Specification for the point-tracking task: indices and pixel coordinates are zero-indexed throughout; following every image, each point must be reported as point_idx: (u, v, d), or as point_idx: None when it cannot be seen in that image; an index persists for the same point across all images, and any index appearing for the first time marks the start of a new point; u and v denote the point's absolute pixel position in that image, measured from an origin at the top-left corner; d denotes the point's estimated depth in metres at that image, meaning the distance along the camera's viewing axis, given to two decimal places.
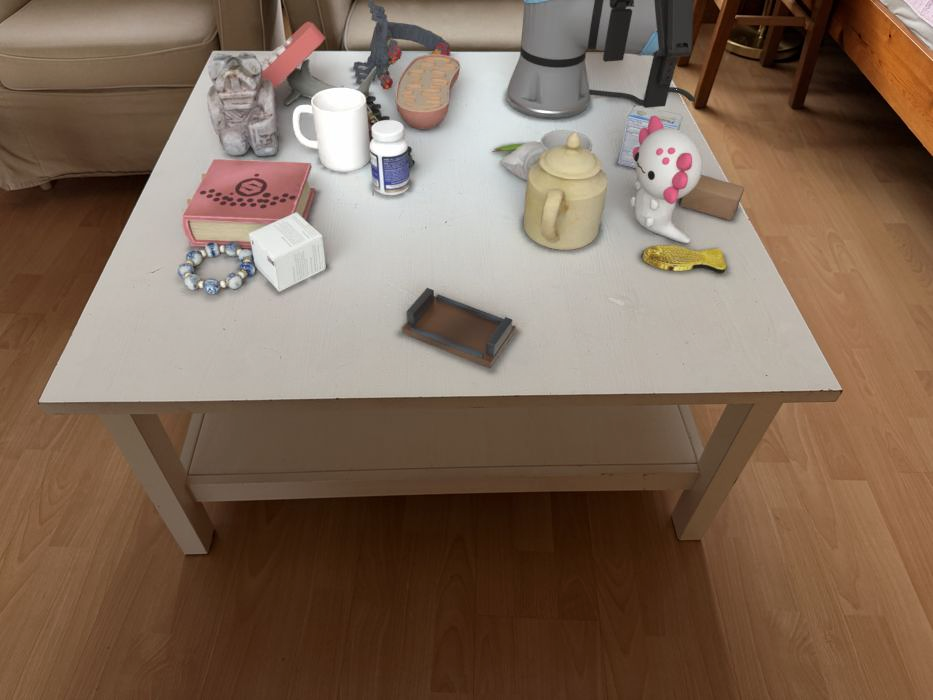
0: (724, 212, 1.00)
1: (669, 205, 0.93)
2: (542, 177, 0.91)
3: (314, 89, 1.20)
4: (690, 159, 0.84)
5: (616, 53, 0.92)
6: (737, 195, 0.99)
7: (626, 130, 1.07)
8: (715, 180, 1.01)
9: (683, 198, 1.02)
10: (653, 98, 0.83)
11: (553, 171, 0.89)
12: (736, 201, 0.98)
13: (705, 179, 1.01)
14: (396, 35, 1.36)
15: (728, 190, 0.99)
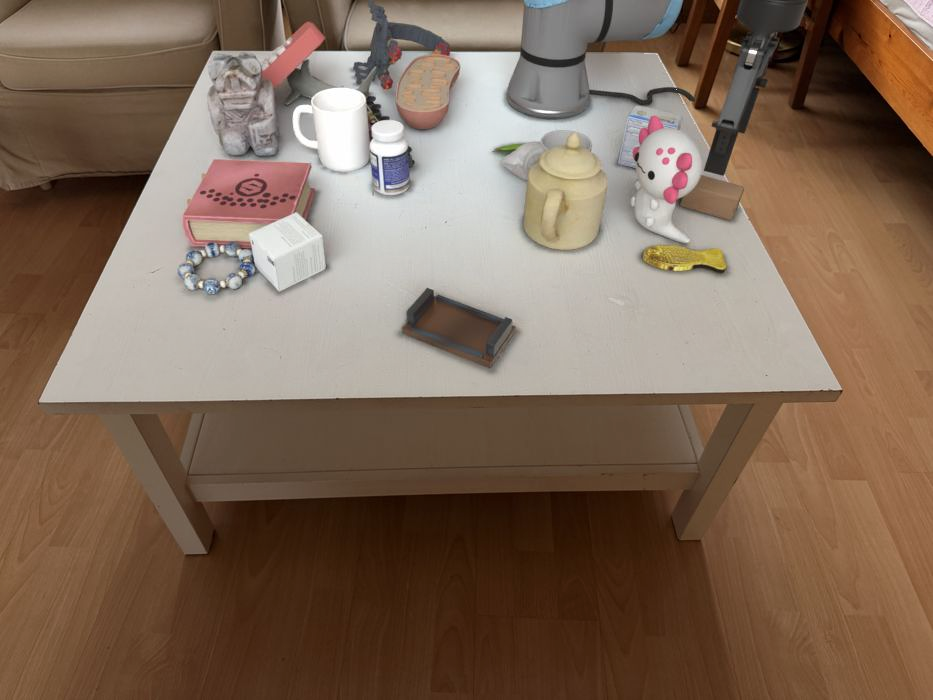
0: (724, 212, 1.00)
1: (669, 205, 0.93)
2: (542, 177, 0.91)
3: (314, 89, 1.20)
4: (690, 159, 0.84)
5: (738, 125, 0.99)
6: (737, 195, 0.99)
7: (626, 130, 1.07)
8: (715, 180, 1.01)
9: (683, 198, 1.02)
10: (712, 164, 0.91)
11: (553, 171, 0.89)
12: (736, 201, 0.98)
13: (705, 179, 1.01)
14: (396, 35, 1.36)
15: (728, 190, 0.99)
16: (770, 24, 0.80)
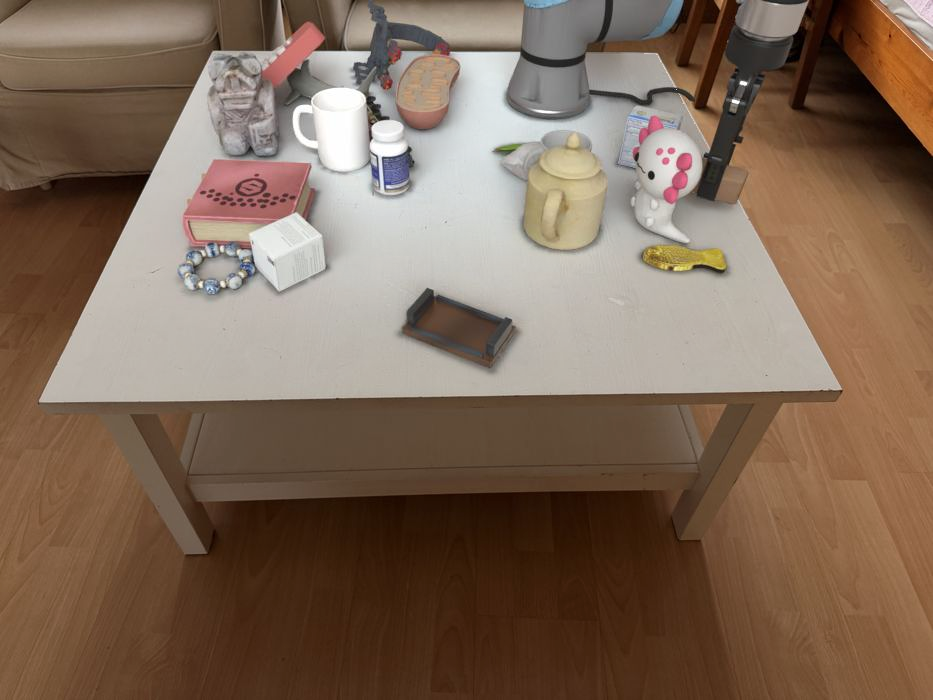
0: (728, 196, 0.99)
1: (669, 205, 0.93)
2: (542, 177, 0.91)
3: (314, 89, 1.20)
4: (690, 159, 0.84)
5: None
6: (741, 178, 0.97)
7: (626, 130, 1.07)
8: None
9: None
10: (703, 191, 0.99)
11: (553, 171, 0.89)
12: (740, 185, 0.97)
13: None
14: (396, 35, 1.36)
15: (732, 173, 0.98)
16: (756, 64, 0.84)
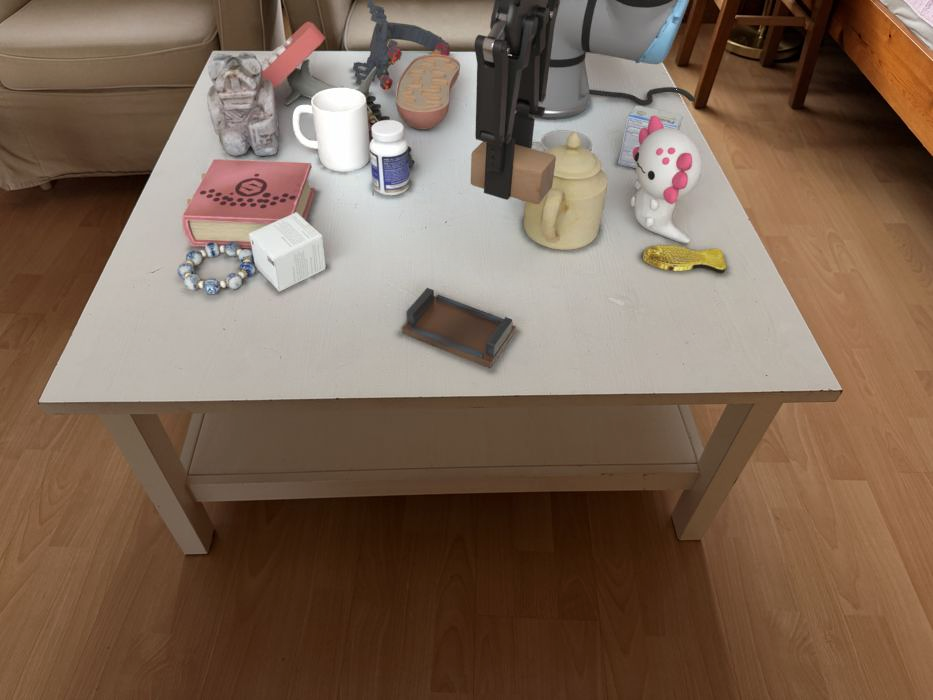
0: (526, 192, 0.69)
1: (669, 205, 0.93)
2: None
3: (314, 89, 1.20)
4: (690, 159, 0.84)
5: None
6: (541, 166, 0.67)
7: (626, 130, 1.07)
8: (516, 146, 0.70)
9: (472, 173, 0.70)
10: (491, 185, 0.69)
11: None
12: (538, 176, 0.67)
13: None
14: (396, 35, 1.36)
15: (530, 159, 0.68)
16: None
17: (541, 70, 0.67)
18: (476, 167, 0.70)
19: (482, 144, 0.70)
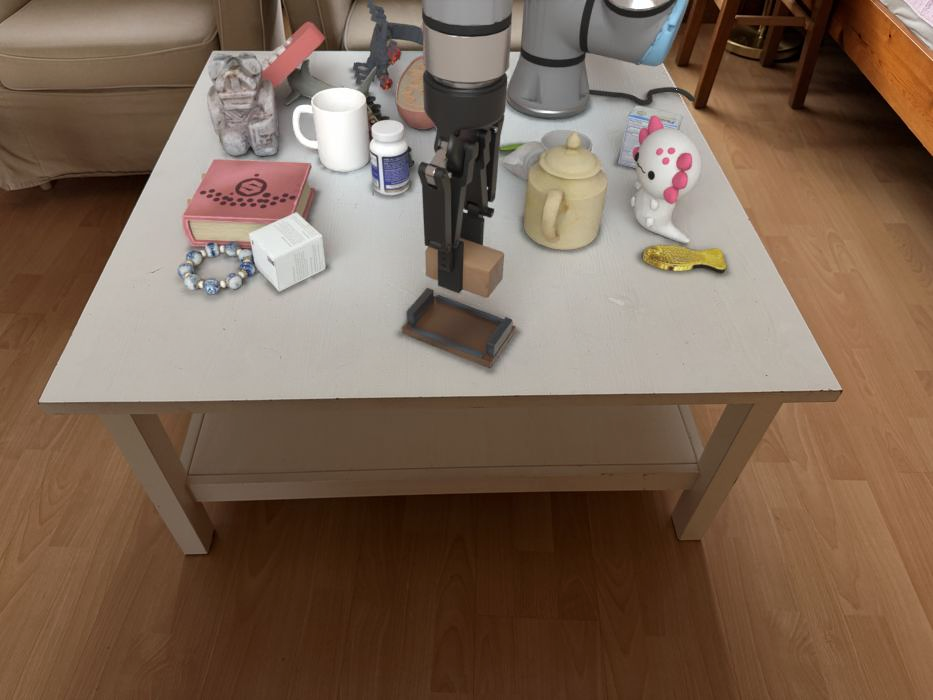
0: (476, 287, 0.73)
1: (669, 205, 0.93)
2: (542, 177, 0.91)
3: (314, 89, 1.20)
4: (690, 159, 0.84)
5: None
6: (489, 265, 0.72)
7: (626, 130, 1.07)
8: (467, 243, 0.74)
9: (426, 267, 0.75)
10: (444, 280, 0.74)
11: (553, 171, 0.89)
12: (486, 275, 0.72)
13: None
14: (395, 36, 1.36)
15: (479, 257, 0.73)
16: (452, 120, 0.59)
17: (489, 176, 0.71)
18: (430, 262, 0.74)
19: None
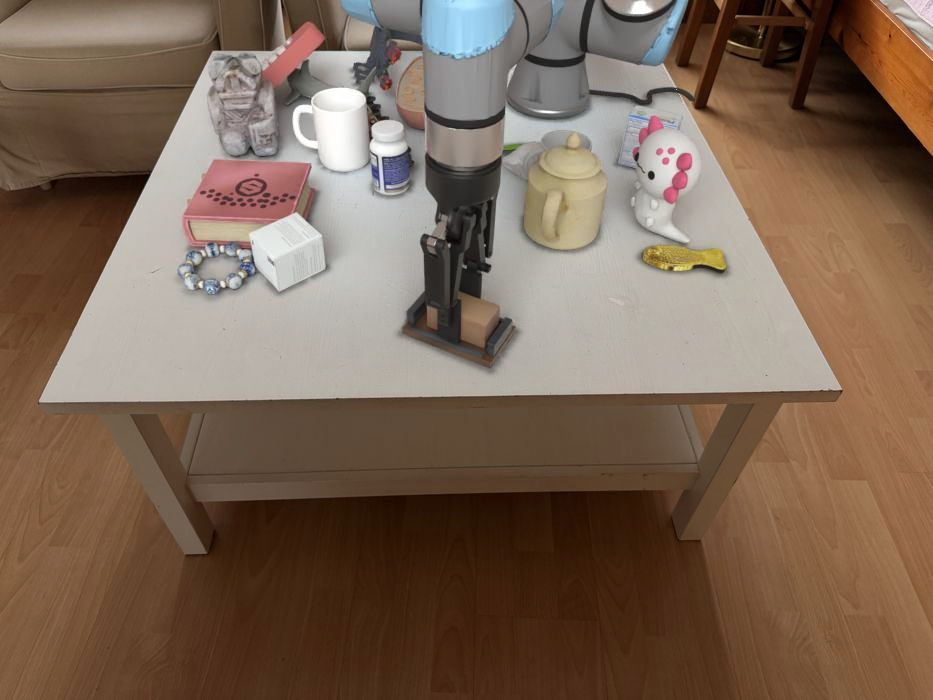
0: (474, 339, 0.79)
1: (669, 205, 0.93)
2: (542, 177, 0.91)
3: (314, 89, 1.20)
4: (690, 159, 0.84)
5: None
6: (485, 319, 0.77)
7: (626, 130, 1.07)
8: (465, 297, 0.80)
9: (428, 318, 0.81)
10: (443, 332, 0.80)
11: (553, 171, 0.89)
12: (483, 328, 0.77)
13: None
14: (395, 36, 1.36)
15: (477, 311, 0.78)
16: (452, 198, 0.65)
17: (486, 236, 0.77)
18: (431, 315, 0.80)
19: None
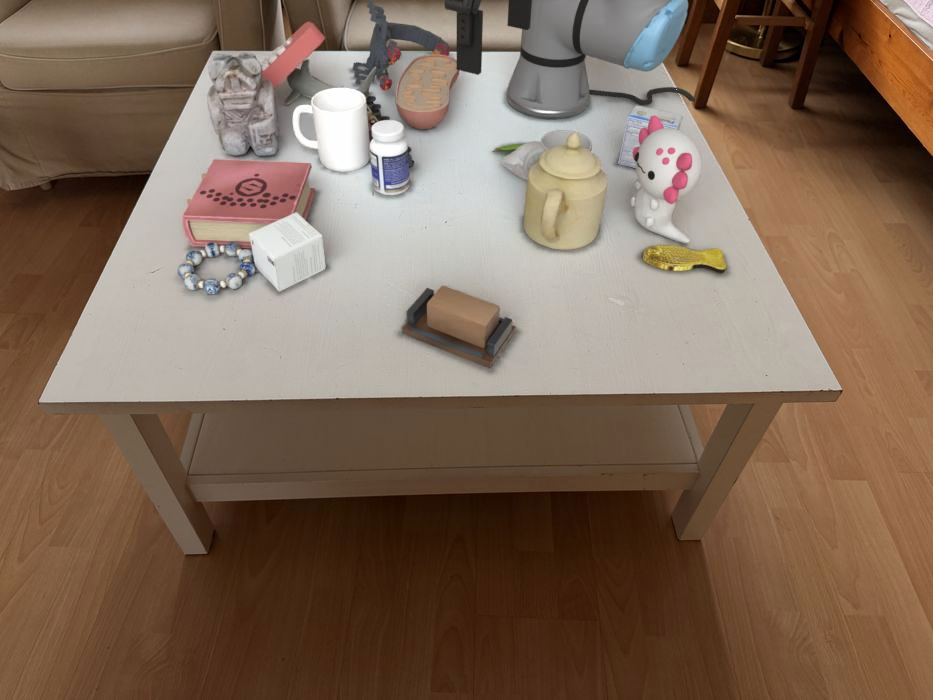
0: (474, 339, 0.79)
1: (669, 205, 0.93)
2: (542, 177, 0.91)
3: (314, 89, 1.20)
4: (690, 159, 0.84)
5: (519, 19, 0.82)
6: (485, 320, 0.77)
7: (626, 130, 1.07)
8: (465, 297, 0.80)
9: (428, 318, 0.81)
10: (463, 61, 0.74)
11: (553, 171, 0.89)
12: (483, 328, 0.77)
13: (454, 295, 0.80)
14: (395, 36, 1.36)
15: (477, 311, 0.78)
16: None
17: None
18: (431, 315, 0.80)
19: (436, 294, 0.80)
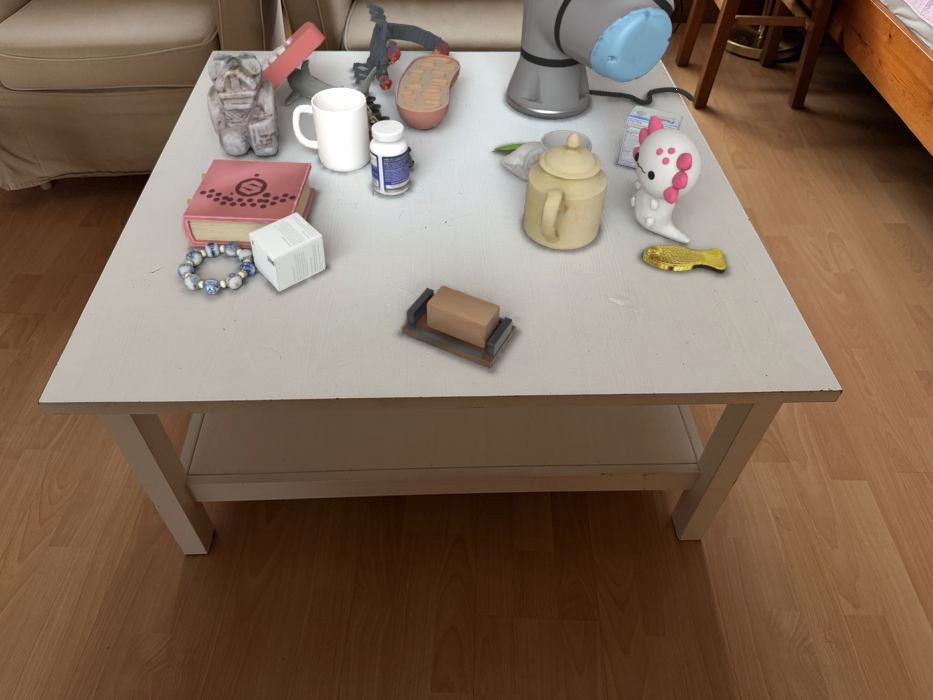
0: (474, 339, 0.79)
1: (669, 205, 0.93)
2: (542, 177, 0.91)
3: (314, 89, 1.20)
4: (690, 159, 0.84)
5: None
6: (485, 320, 0.77)
7: (626, 130, 1.07)
8: (465, 297, 0.80)
9: (428, 318, 0.81)
10: None
11: (553, 171, 0.89)
12: (483, 328, 0.77)
13: (454, 295, 0.80)
14: (395, 36, 1.36)
15: (477, 311, 0.78)
16: None
17: None
18: (431, 315, 0.80)
19: (436, 294, 0.80)
